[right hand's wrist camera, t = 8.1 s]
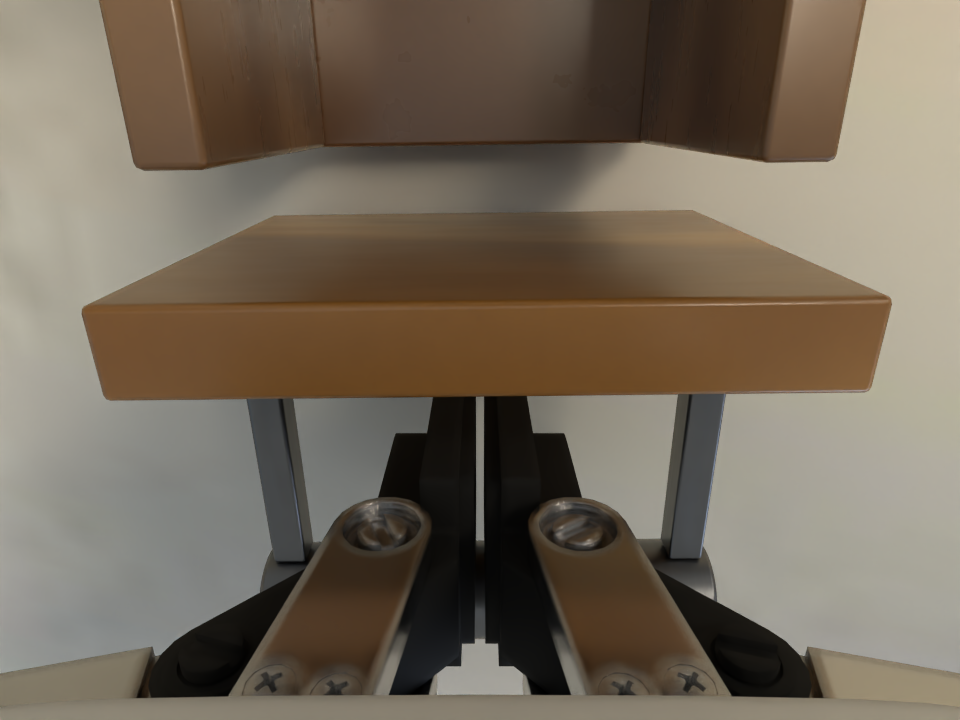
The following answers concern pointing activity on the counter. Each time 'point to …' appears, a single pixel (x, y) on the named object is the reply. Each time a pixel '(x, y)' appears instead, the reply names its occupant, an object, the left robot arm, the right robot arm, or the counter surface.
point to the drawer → (484, 222)
